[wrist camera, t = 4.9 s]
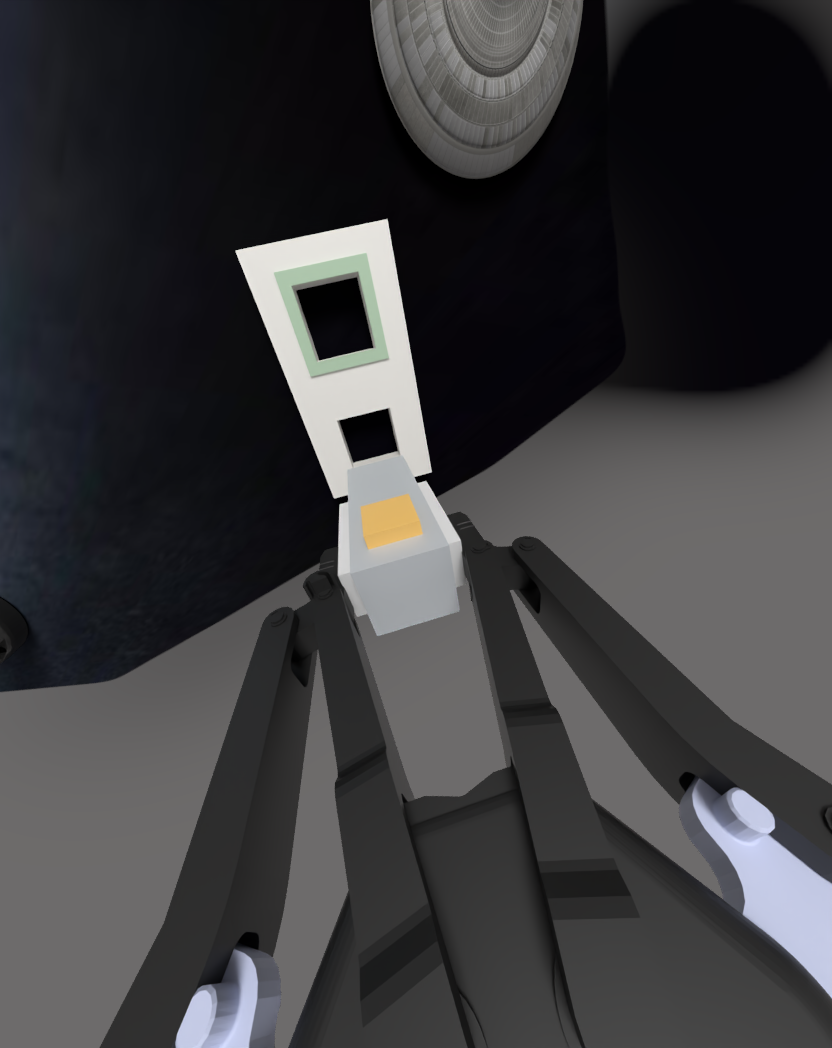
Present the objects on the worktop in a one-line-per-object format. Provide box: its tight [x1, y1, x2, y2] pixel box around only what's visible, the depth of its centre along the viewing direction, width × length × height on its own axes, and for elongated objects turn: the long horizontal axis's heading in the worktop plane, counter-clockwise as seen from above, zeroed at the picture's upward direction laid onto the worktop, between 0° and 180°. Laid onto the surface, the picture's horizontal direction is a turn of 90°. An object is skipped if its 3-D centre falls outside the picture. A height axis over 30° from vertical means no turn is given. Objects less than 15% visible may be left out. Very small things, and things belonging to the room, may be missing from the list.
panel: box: [236, 219, 432, 498], centre depth 30 cm, size 12×22×3 cm, turn 11°
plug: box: [347, 455, 460, 636], centre depth 17 cm, size 4×5×11 cm
